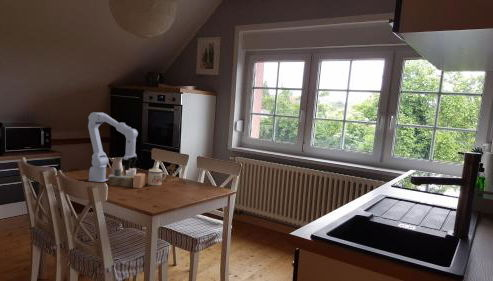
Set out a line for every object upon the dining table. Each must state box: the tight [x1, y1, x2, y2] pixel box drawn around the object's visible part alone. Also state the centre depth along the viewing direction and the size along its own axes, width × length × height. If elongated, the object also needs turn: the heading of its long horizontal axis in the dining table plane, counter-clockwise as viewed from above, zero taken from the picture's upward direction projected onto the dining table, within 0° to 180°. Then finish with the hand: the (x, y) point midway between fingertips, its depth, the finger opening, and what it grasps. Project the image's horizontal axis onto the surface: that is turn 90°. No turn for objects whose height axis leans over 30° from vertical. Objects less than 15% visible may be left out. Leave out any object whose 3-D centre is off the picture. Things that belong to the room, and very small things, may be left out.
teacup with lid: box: [147, 166, 167, 187], centre depth 227 cm, size 12×9×12 cm
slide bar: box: [107, 168, 133, 181], centre depth 218 cm, size 14×3×7 cm, turn 86°
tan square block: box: [132, 172, 146, 189], centre depth 217 cm, size 4×8×8 cm, turn 176°
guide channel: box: [108, 176, 133, 188], centre depth 218 cm, size 15×6×4 cm, turn 86°
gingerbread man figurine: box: [164, 163, 180, 183], centre depth 241 cm, size 9×4×12 cm, turn 129°
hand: (129, 169), depth 220 cm, fingers open, 7 cm apart
